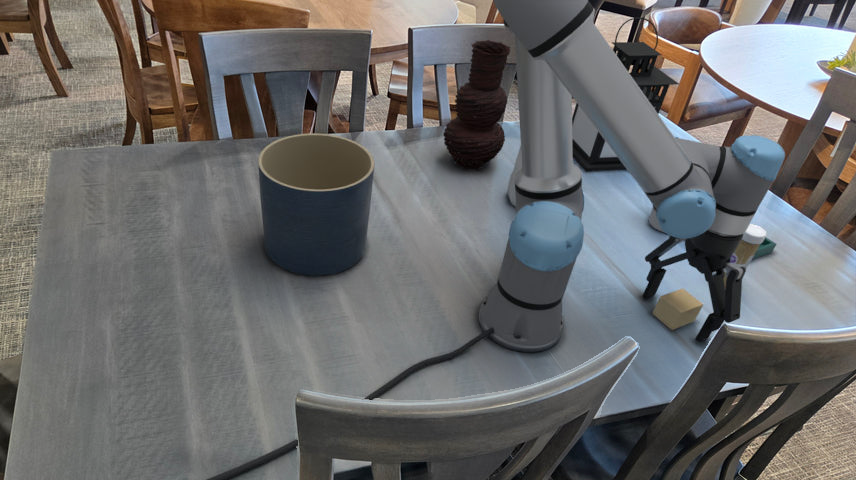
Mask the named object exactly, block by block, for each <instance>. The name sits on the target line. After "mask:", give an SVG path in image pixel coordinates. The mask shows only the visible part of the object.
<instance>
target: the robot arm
mask: <svg viewBox="0 0 856 480" xmlns="http://www.w3.org/2000/svg"><path fill="white" fill-rule="evenodd" d="M492 1H493V3H494V7H496V9H497V12H498V13H499V15H500V17H502V19H503V26H504V28H505V29H506V30H508V31H509V32H511V33H512V34H513V35H514V51H515V67H516V83H517V85H516V86H517V100H518V114H519V115H518V117H519V118H518V119H519V134H520V146H521V152H522V169H521V170H519V171H518V172H517V174H516V175H515V194H516V207H515V214H514V218H513V220H512V221H511V223H510V226H509V230H508V238H507V243H506V245H505V250H504V254H503V258H502V262H501V264H500V265H501V266H500V269H499V273H498V278H497V281H496V283H495V284H494V286H493V287H492V288H491V289H490V291H489V292H488V293H487V294H486V296H485V297H484V299H483V300H482V302H481V304H480V308H479V312H478V322H479V326H480V327H481V329H482V333H480V334H479V335H477V336H475V337H474V338H472V339H470V340H469V341H468V342H466V343H465V344H464V345H462V346H460V347H459V348H456V349H455V350H453V351H451V352H448V353H445V354H440V355H438V356H434V357H433V356H432V357H430V358H427V359H424V360H421V361H419V362H417V363H415V364H413V365H411V366H410V367H408V368H407V369H405V370H403V371H402V372H400V373H399V374H397V376H395V377H394V378H392V379H391V380H389V381H388V382H386V383H384V385H381V387H379V388H377V389H376V390H374V391H373V392H372V393H370V394H369V395H367V396H366V397H364V398H363V399H369V400H372V401H373V400H375V399H376V398H377V397H378V398H379V396H380V395H382V394H383V393H385V392H387V391H388V390H390V389H391V388H392V387H394V386H395V385H396V384H398V383H399V382H401V381H402V380H403V379H405V378H406V377H408V376H409V375H411V374H412V373H414V372H415V371H418V370H419V369H422V368H424V367H426V366H429V365H432V364H436V363H439V362H444V361H447V360H450V359H453V358H455V357H457V356H459V355H461V354H463V353H465V351H467V350H469V349H471V347H473V346H474V345H476V344H477V343H479V342H480V341H482V340H483V339H486V338H487V337H488V338H490V340H492V341H493V342H495V343H496V344H498V345H500V346H502V347H504V348H506V349H509V350H511V351H516V352H521V353H538V352H543V351H546V350H549V349H550V348H552V347H554V346H555V345H557V343H558V342H559V340H560V338H561V335H562V332H563V330H564V317H563V298H564V295H565V293H566V290H567V287H568V284H569V281H570V278H571V276H572V272H573V270H574V266H575V264H576V261H577V258H578V257H579V254H580V253H581V251H582V248H583V245H584V236H585V228H584V224H583V222H582V219H583V212H584V209H585V195H584V190H583V177H582V176H583V173H582V170H581V169H580V168H579V166H577V165H575V164H574V163H573V160H574V158H573V152H572V117H573V100H574V101H575V102H576V103H577V104H578V105H579V106H580V108H581V109H582V110H583V112H584V113H585V114H586V116H587V117H588V118H589V120H590V121H591V122H592V124H593V125H594V126H595V128H596V129H597V130H598V132H599V133H600V134H601V136H602V137H603V138H604V140H605V141H606V142H607V144H608V145H609V146H610V148H611V149H612V150H613V152H614V153H615V154H616V156H617V157H618V158H619V159H620V161H621V162H622V163H623V165H624V166H625V167H626V169H627V170H626V171H627V172H628V173H629V175H630V176H631V177H632V179H634V181H635V182H636V183H637V186H639V188H640V189H641V190H642V191H643V193H644V194H645V196H646V197H647V199H648V200H649V201H650V203H651V204H652V206H653V205H654V207H655V208H656V210H657V211H656V216H657V219H658V221H659V225H660V227H661V228H662V230H663V231H664V232H663V233H664V234H666V235H668V236H669V237H668V238H667V239H666V240H665V241H663V242H662V243H661V244H660V245H659V246H657V247H656V248H654V249H653V250H652V251H651V252H649V253H648V254H647V255H645V257H644V261H645V263H646V262H647V263H649V265H650V270H649V271H648V274H647V276H646V281H647V285H646V286H645V289H644V291H643V294H642V296H641V298H643V299H644V300H646V299H649V298H653V297H655V295H656V294H657V291H658V290H659V287H660V286H661V283H662V282H663V279H664V277H665V275H666V273H667V270H668V269H666V268H664V267H668V266H670V265H673V264H677V263H679V262H682V261H685V260H687V263H688V265H689V266H691V267H692V268H694V269H695V270H697V271H698V272H699V273H700V274H702V275H704V280H705V282H707V285H708V291H709V296H710V301H711V306H712V311H713V312H710V313H709V314H708V315H707V317H706V319H705V320H704V323H703V324H702V326H701V328H700V329H699V331H698V333H697V335H696V336H695V338H694V341H696V342H697V343H701V342H703V341H705V340H708V339H709V338H710V336H711V334H712V333H713V332H715V331H718V330H720V329H721V327H722V325H723V324H724V322H725V323H727V324H729V323H732V322H734V321H737V320H739V319H741V308H742V307H741V305H742V290H743V289H742V286H743V279H744V276H745V274H746V272H747V268H746V269H745V268H744V267H737V266H735V265H733V264H732V263H731V256H732V254H733V253H734V252H735V250H736V248H737V246H738V245H739V243H740V241H741V239H742V237H743V233H744V232H745V231H746V230H747V228H748V226H749V224H751V222H752V220H753V218H754V217H755V215H756V213H757V211H758V210H759V207H760V205H761V203H762V202H763V200H764V198H765V197H766V195H767V193H768V192H769V190H770V189H771V187H772V184H773V183H774V181H775V180H776V179H777V176H778V174H779V171H780V170H781V167H782V165H783V163H784V160H785V157H786V152H785V150H784V148H783V147H782V146H781V144H779V143H778V142H776V141H774V140H772V139H770V138H769V137H768V138H767V137H764V136H760V135H755V134H753V135H748V134H747V135H746V134H745V135H741V136H738V137H737V138H736V139H735V140H734V142H733V143H732V144H731V145H730V146H725V145H724V146H721V145H715V144H710V143H705V142H701V141H700V142H698V141H695V140H689V139H685V138H680V137H679V136H674V134H673V133H672V132H671V129H670V128H669V127H668V126H667V124H666V123H665V122H664V120H663V118H662V117H661V116H660V115H659V114H658V113H657V112H656V110H655V109H654V108H653V106H652V105H651V103H650V102H649V101H648V99H647V98H646V96H645V95H644V93H643V92H642V91H641V89H640V88H639V86H638V85H637V84H636V82H635V81H634V79H633V78H632V77H631V75H630V74H629V73H630V71H629V72H628V71H627V69H626V68H625V67H624V65H623V64H622V62H621V61H620V60H619V58H618V57H617V53H616V54H615V53H614V51H613V47H611V45H610V44H609V43H608V41H607V40H606V39H605V37H604V35H603V34H602V33H601V31H600V30H599V29H598V26H597V25H596V24H595V23H594V17H595V12H596V10H595V7H593V5H592V4H591V2H590V1H589V0H492ZM680 243H684V249H685V252H683V253H679V254H676V255H674V256H671V257H668V258H666V259H662V260H661V259H660V258H661V257H662V256H664V255H665V254H666V253H667V252H669V251H671V250H672V249H673V248H674V247H676V246H677V245H678V244H680ZM724 269H726V271H727V274H726V275H725V274H724ZM714 273H715V274H714ZM725 276H726V277H727V280H726V288H725V285H724V277H725ZM719 328H720V329H719ZM297 439H298V438H296V439H294V440H291V441H289V442H288V443H286V444H284V445H283V446H280V447H278V448H275V449H274V450H272V451H270V452H268V453H266V454H264V455H261V456H260V457H257V458H255V459H253V460H250V461H248V462H245V463H243V464H240V465H239V466H236V467H234V468H232V469H230V470H226V471H224V472H222V473H219V474H216V475H215V476H212V477H210V478H209V477H208V478H206V480H227V479H230V478H233V477H234V476H238V475H239V474H242V473H244V472H246V471H249V470H251V469H253V468H256V467H257V466H260V465H262V464H264V463H266V462H268V461H271V460H273V459H275V458H277V457H279V456H280V455H283V454H284V453H286V452H289V451H290V450H292V449H295V448H296V447H298V446H299V445H298V440H297Z"/></svg>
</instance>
